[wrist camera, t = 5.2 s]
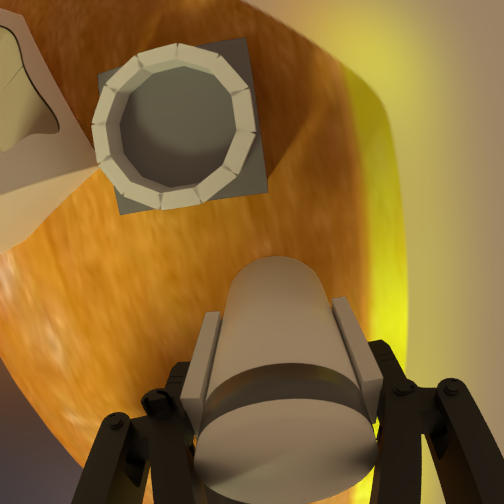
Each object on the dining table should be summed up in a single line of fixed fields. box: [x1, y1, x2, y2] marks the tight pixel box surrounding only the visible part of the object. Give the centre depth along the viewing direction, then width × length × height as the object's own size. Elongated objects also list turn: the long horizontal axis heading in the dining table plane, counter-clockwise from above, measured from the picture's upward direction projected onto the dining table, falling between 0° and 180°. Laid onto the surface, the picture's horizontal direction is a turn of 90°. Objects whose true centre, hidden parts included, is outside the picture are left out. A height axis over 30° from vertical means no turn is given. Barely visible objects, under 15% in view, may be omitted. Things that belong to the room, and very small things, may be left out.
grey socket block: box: [91, 37, 268, 215], centre depth 20 cm, size 10×10×8 cm
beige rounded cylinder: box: [194, 256, 379, 504], centre depth 14 cm, size 6×6×12 cm
